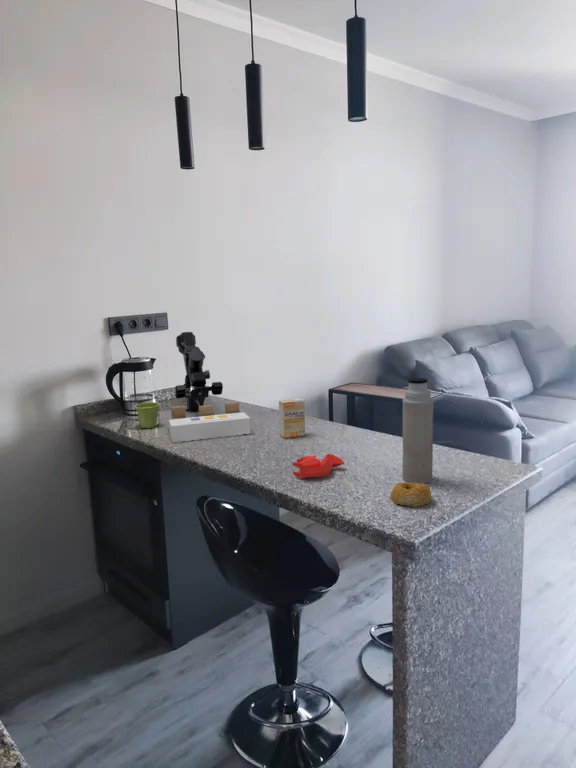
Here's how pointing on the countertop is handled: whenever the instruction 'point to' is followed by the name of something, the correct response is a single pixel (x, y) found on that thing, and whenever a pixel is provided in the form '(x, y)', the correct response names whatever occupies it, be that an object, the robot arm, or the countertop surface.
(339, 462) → the animal figurine
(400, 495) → the bagel
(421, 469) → the thermos bottle
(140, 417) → the plant pot
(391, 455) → the countertop surface
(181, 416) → the key
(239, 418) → the key console
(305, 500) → the countertop surface
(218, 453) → the countertop surface
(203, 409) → the key middle
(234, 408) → the key
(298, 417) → the supplement box
